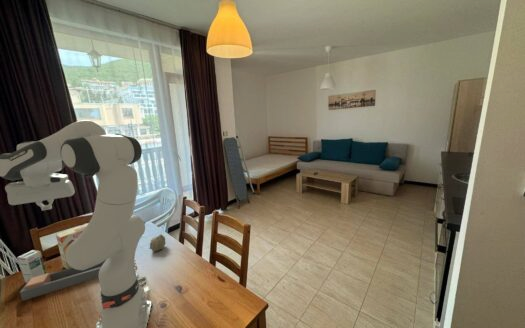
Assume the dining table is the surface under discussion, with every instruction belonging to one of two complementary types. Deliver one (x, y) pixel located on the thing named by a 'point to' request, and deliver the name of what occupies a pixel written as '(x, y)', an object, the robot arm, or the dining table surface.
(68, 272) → the charcoal chute
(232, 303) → the dining table surface
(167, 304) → the dining table surface
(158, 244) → the beige rough lump
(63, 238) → the coffeecake box
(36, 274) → the syrup box
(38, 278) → the terracotta block
